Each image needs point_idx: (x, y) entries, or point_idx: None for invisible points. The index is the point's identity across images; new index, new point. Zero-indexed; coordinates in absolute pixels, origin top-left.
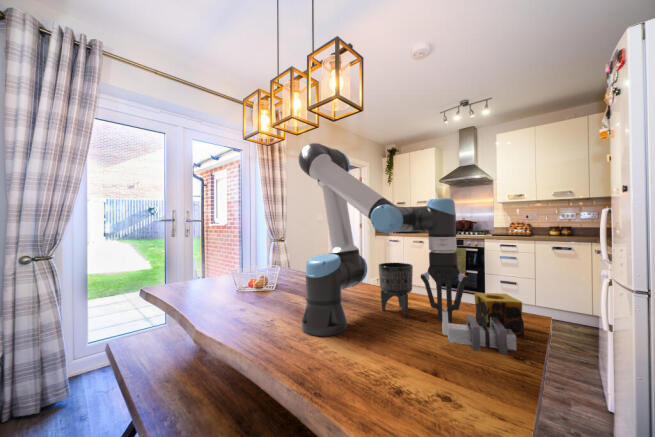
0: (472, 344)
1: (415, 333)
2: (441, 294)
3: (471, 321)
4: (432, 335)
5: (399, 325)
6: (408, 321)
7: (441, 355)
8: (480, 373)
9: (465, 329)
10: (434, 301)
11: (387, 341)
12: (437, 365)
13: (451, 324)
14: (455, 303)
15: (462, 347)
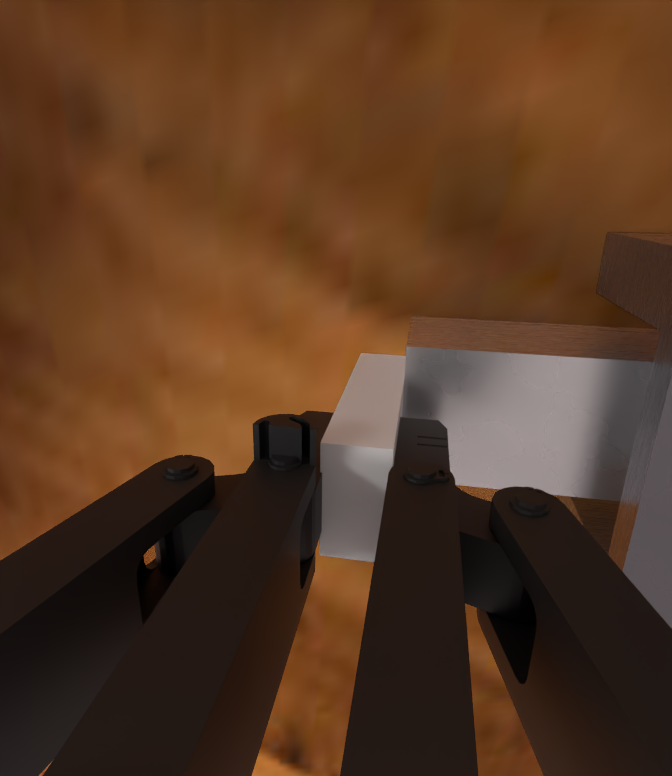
0: (564, 501)
1: (159, 319)
2: (244, 774)
3: (654, 515)
4: (288, 327)
5: (4, 165)
6: (50, 4)
7: (332, 609)
8: (500, 741)
9: (555, 481)
10: (186, 503)
11: (19, 492)
12: (305, 698)
13: (444, 375)
14: (503, 671)
15: (485, 493)
